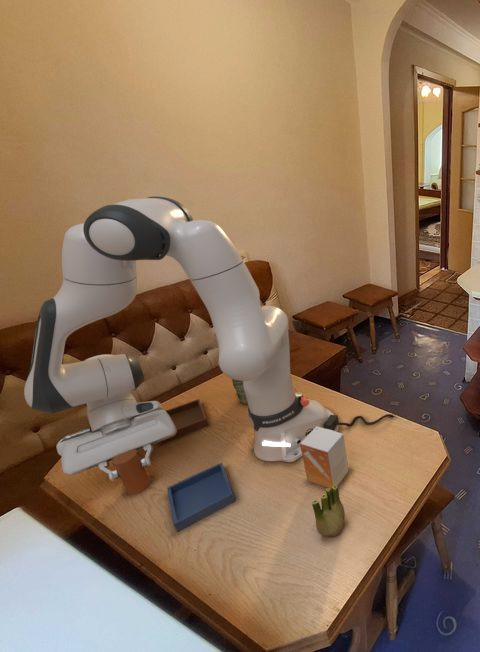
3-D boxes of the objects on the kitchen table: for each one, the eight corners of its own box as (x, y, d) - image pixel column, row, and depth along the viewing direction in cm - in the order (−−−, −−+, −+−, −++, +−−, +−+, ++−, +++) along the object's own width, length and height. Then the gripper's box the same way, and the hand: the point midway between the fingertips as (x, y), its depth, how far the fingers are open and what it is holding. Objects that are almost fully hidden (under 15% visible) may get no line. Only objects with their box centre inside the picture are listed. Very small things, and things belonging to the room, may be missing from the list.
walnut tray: (201, 404, 115) (199, 398, 114) (208, 425, 107) (206, 418, 106) (157, 420, 108) (154, 414, 107) (161, 443, 100) (158, 437, 99)
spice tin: (149, 475, 91) (136, 446, 87) (151, 486, 88) (137, 457, 84) (126, 485, 88) (111, 455, 84) (127, 497, 85) (111, 467, 81)
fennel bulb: (319, 544, 76) (311, 506, 71) (318, 524, 80) (310, 486, 75) (347, 534, 78) (341, 496, 73) (345, 514, 82) (339, 477, 78)
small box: (307, 482, 90) (298, 443, 85) (323, 462, 96) (316, 425, 90) (334, 491, 88) (327, 452, 83) (349, 470, 93) (343, 433, 88)
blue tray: (224, 469, 93) (221, 462, 92) (235, 501, 85) (232, 493, 84) (170, 494, 86) (167, 487, 85) (177, 532, 78) (173, 524, 77)
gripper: (48, 437, 79) (64, 498, 76) (165, 398, 92) (182, 448, 89) (59, 441, 84) (74, 498, 81) (168, 403, 97) (184, 451, 94)
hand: (131, 472), depth 85 cm, fingers closed on spice tin, 4 cm apart
